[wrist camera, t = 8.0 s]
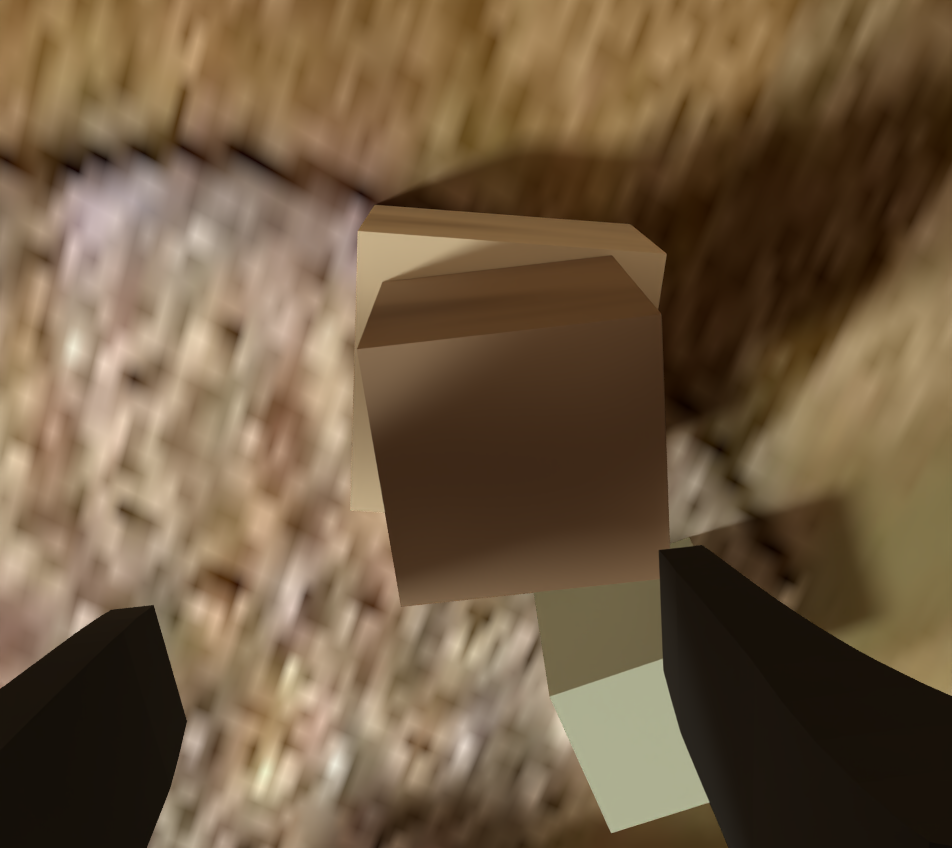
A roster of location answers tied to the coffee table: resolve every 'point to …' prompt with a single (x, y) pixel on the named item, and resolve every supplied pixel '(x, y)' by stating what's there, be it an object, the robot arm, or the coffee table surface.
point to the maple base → (465, 250)
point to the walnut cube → (518, 429)
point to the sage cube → (618, 698)
